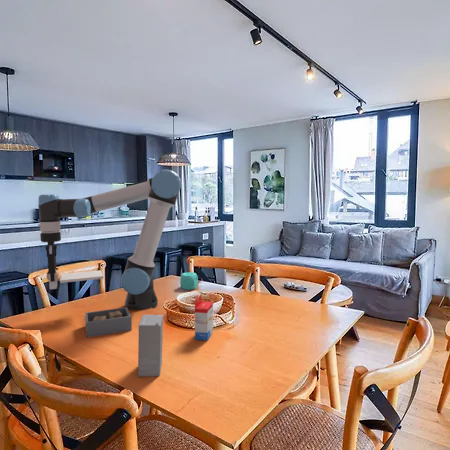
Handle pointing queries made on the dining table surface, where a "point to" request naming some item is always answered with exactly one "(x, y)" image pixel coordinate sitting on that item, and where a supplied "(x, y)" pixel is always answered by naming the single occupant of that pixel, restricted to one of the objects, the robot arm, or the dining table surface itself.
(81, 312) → the dining table surface
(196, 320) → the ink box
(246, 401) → the dining table surface
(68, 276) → the lid
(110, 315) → the block
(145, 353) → the skincare box
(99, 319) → the block
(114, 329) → the tub
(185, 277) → the decorative dice
